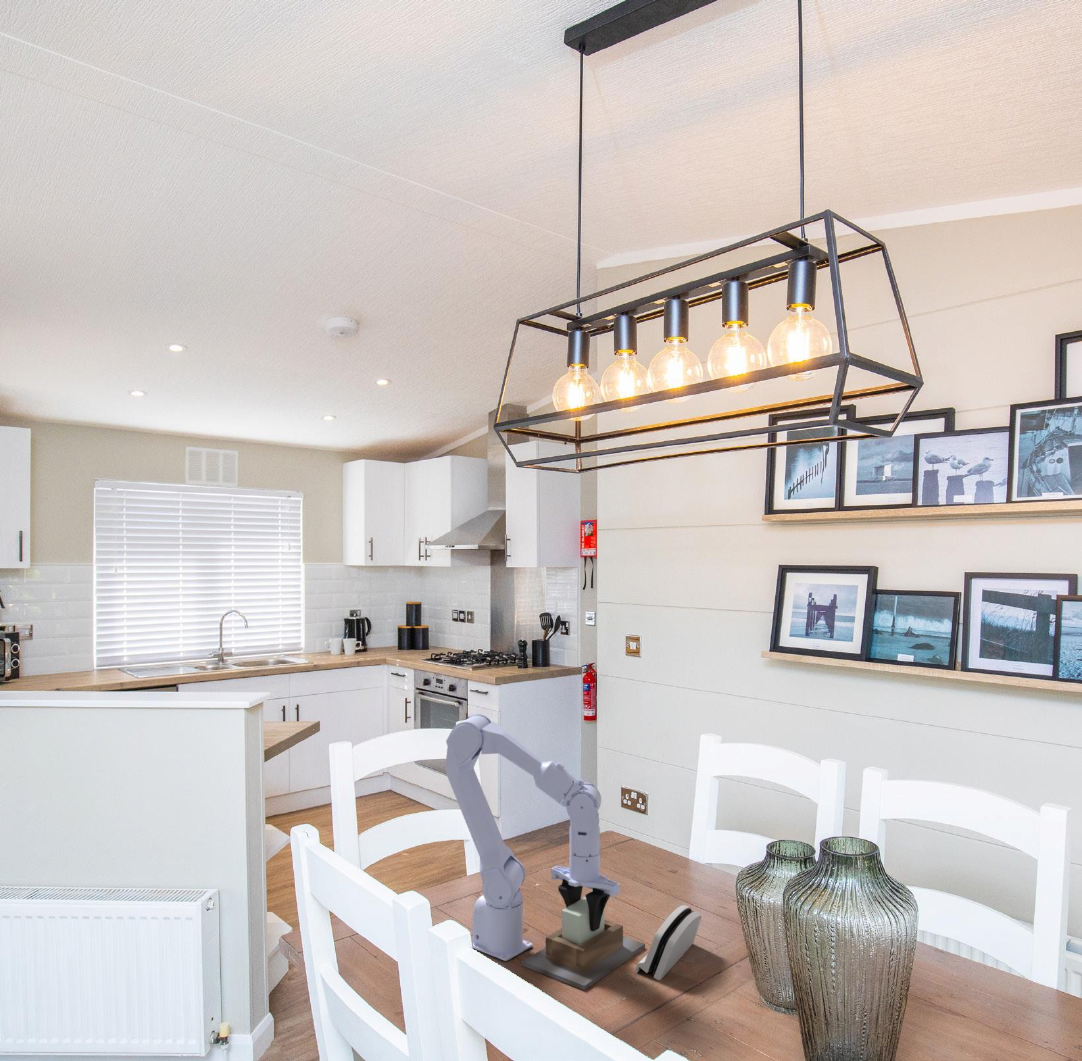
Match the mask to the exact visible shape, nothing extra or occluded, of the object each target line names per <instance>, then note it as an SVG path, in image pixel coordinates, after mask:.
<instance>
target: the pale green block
mask: <svg viewBox="0 0 1082 1061" xmlns="http://www.w3.org/2000/svg"><path fill="white" fill-rule="evenodd" d="M604 920H605V910H604V911H603V914H602V918H601V922H600V927H599V929H597V930H595V931H591V930H590V923H589V908H588V903H587V900H586V896H584V897H583V898H582V897H581V900H579V901H577V902H575V903H574V904H572V905H570V906H568V907H565V908H564V909H562V910H561V928H562V939H565V940H568V941H570V942H573V943H576V944H579V945H583V944H584V943H586V942H587V941H589V940H591V939H592V938H594V937H595V936H597V935H599V934H600V933H602V932H604Z"/></svg>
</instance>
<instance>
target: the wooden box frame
mask: <svg viewBox="0 0 1082 1061" xmlns="http://www.w3.org/2000/svg"><path fill="white" fill-rule="evenodd" d="M645 949H646V943H644V942H641V941H639V940H636V939H632V938H630V937H627V936H624V925H621V924H620V923H616V922H613V921H610V920H608V919H607V920H606V919H604V932H602V933H600V934H599V935H597V936H595V937H594V938H592V939H591V940H589V941H587V942H586V943H584V944H583V945H579V944H576V943H573V942H570V941H568V940H565V939H562V927H561V928H559V929H558V930H556V931H554V932H552V933H551V934H549V935H547V936H545V947H543V948H542V949H540V950H538V951H537V952H535V953H533V954H532V955H530V956H528V957H527V958H525V959H523V960H521V966H523V967H525V968H527V969H530V970H532V971H534V972H537V973H539V974H542V975H544V976H547V977H550V978H552V979H555V980H557V981H559V982H562V983H565V984H567V985H569V986H573V987H575V988H576V989H577V988H578V989H580V990H581V991H586V990H587V989H589V988H590V987H591V986H593V985H594V984H596V983H598V982H599V981H600V980H602V979H603V978H605V977H606V976H608V975H609V974H610V973H611V972H613V971H614V970H616V969H617V968H619V967H621V965H623V964H624V963H625V962H628V961H629V960H630V959H631V958H633V957H634V956H636V955H637V954H639V953H641V951H643V950H645Z"/></svg>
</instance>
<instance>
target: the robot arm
mask: <svg viewBox="0 0 1082 1061" xmlns="http://www.w3.org/2000/svg"><path fill="white" fill-rule="evenodd" d="M445 740H446V742H445V743H446V745H447V749H446V757H445V758H446V759H445V767H444V768H445V769H444V770H445V774H446V776H447V778H448V782H449V784H450V787H451V789H452V792H453V794H454V796H455V798H456V801H457V804H458V806H459V809H460V811H461V815H462V816H463V819H464V820H465V824H466V826H467V828H468V831H469V833H470V834H469V835H470V837H471V839H472V841H473V843H474V846H475V848H476V851H477V853H478V856H479V875H480V877H481V881H482V888H481V890H482V895H481V896H479V898H477V900H476V901H475V904H474V906H473V911H472V943H473V948H472V949H474V950H477V951H479V952H482V953H485V954H486V955H489V956H492V957H495V958H497V959H499V960H502V961H504V962H507V961H510V960H511V959H512V958H514V957H517V956H519V955H520V954H522V953H524V952H525V951H526V950H528V949H530V948H531V947H533V943H532V942H530V941H527V940H524V896H523V894H522V892H521V886H522V885H523V884H524V882H525V879H526V870H525V867H524V865H523V864H522V862H521V861H520V860H519V859H518V858H516V856H515V855H514V853H513V850H512V848H510V846H507V844H505V842H504V839H503V837H502V835H501V833H500V829H499V827H498V824H497V823H496V820H495V818H494V815H493V813H492V810H491V807H490V804H489V802H488V800H487V798H486V795H485V793H484V791H483V787H482V786H481V783H480V780H479V778H478V775H477V773H476V771H475V765H476V763H477V761H478V759H479V757H480V755H495V754H498V755H500V756H502V757H504V758H505V759H507V761H510V762H511V763H513V764H514V765H515V766H517V767H518V768H521V769H522V770H523V771H525V772H526V773H528V774H529V775H530V776H532V777H533V780H534V785H535V787H536V788H538V789H539V790H540V791H542V792H543V793H544V794H545V795H548V797H550V798H551V799H553V801H555V802H557V803H558V805H559V804H560V806H562V807H564V808H565V810H566V813H567V815H568V817H569V824H570V825H569V867H566V866H560V865H555V866H554V867H551V868H550V869H551V871H550V872H551V875H550V876H551V879H552V880H561V881H562V882H561V884H560V885H558V886H557V887H558V888H557V889H558V892H559V894H560V896H561V897H562V899H563V901H564V904H565V906H566V907H565V908H567V907H568V906H570V905H572V904H574V903H575V902H577V901H579V900H581V899H582V893H583V887H584V888H587V889H590V890H592V891H589V892H588V893H586V894H585V897H586V900H587V903H588V908H589V923H590V930H591V931H595V930H597V929H599V927H600V922H601V918H602V914H603V911H604V912H605V909H606V908H605V907H606V905H607V903H608V901H609V899H610V897H611V898H616V897H617V896H619V895H621V883H619V882H615V881H614V880H612V879H610V878H608V877H606V876H604V875H603V874H601V857H600V856H601V850H600V849H601V838H600V837H601V835H600V834H601V833H600V832H601V828H600V825H599V824H600V816H599V815H600V813H599V810H600V808H601V804H602V796H601V793H600V791H599V789H598V788H597V787H595V784H594V783H591V782H585V780H584V779H582V778H580V779H578V778H577V777H576V776H575V775H573V774H571V773H570V772H569V771H568V770H566V769H565V768H564V767H565V764H564V763H563V762H561V761H559V762H557V763H556V762H555V760H550V761H549V760H548V761H543V760H542V759H540V758H539V757H538V756H537V755H536V754H535V753H533V752H532V751H531V750H530V749H528V748H527V747H526V746H525V745H523V744H522V743H521V742H520V741H519V740H517V739H516V738H515V737H513V736H512V735H511V734H510V733H508V732H507V731H506V730H505V729H504V728H503V726H501V725H500V724H499V723H497V722H495V721H492V720H491V719H490V718H489V717H488V716H487V715H484V714H481V713H475V714H472V715H470V716H469V717H467V719H465V720H464V721H461V722H459V723H457V724H455V726H453V728H452V729H451V732H450V733H449V735H448V736H447V739H445ZM474 944H475V945H474Z"/></svg>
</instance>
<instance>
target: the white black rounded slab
mask: <svg viewBox="0 0 1082 1061" xmlns="http://www.w3.org/2000/svg"><path fill="white" fill-rule="evenodd" d="M701 921H702V915H701V914H700V913H699V912H698V911H697V910H692V909H691V906H688V905H685V904H683V905H679V906H678V907H677V908H676V909H674V910H673V911H672V912H671V913H670V914H669V915H668V916H667V918H666V919H665V920H664V922H662V924H661V926H660V927H659V928H658V930H657V931H656V933H655V934H654V937H653V939H652V942H651V944H650V947H649V950H648V951H647V952H648V953H647V954H646V955H645V956H644V957H643V958H642V959H641V960H640V961H639V962H637V964H636V967H635V970H634V973H635V974H639V972H641V970H643V972H645V974H648V973H651V972H652V971H653V972H652V975H653V979H655V980H657V981H661V980H662V979H663V978H664V977H665V976H666V974H668V972H670V970H671V969H672V968H673V967H674V966H675V965H676V964H677V962H678V961H679V960H680V959H681V958H682V957H683V956H684V955H685V953H686V952H687V951H688V950H689V949H690V947H691V946H692V945H693V944H694V941H695V938H696V936H697V933H698V929H699V926H700V922H701Z"/></svg>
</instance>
